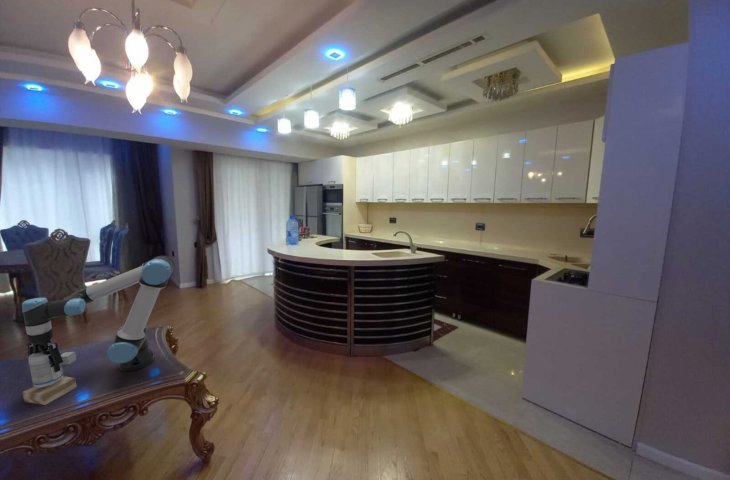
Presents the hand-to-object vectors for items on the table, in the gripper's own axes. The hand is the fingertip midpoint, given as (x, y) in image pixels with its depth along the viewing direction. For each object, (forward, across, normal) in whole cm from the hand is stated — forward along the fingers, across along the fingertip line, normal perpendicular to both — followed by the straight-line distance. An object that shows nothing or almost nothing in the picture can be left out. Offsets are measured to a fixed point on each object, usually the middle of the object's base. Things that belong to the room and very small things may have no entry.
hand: (48, 376), depth 130 cm
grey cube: (+9, +24, -22) cm, 34 cm away
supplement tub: (+3, 0, 0) cm, 3 cm away
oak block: (+9, 0, 0) cm, 9 cm away
